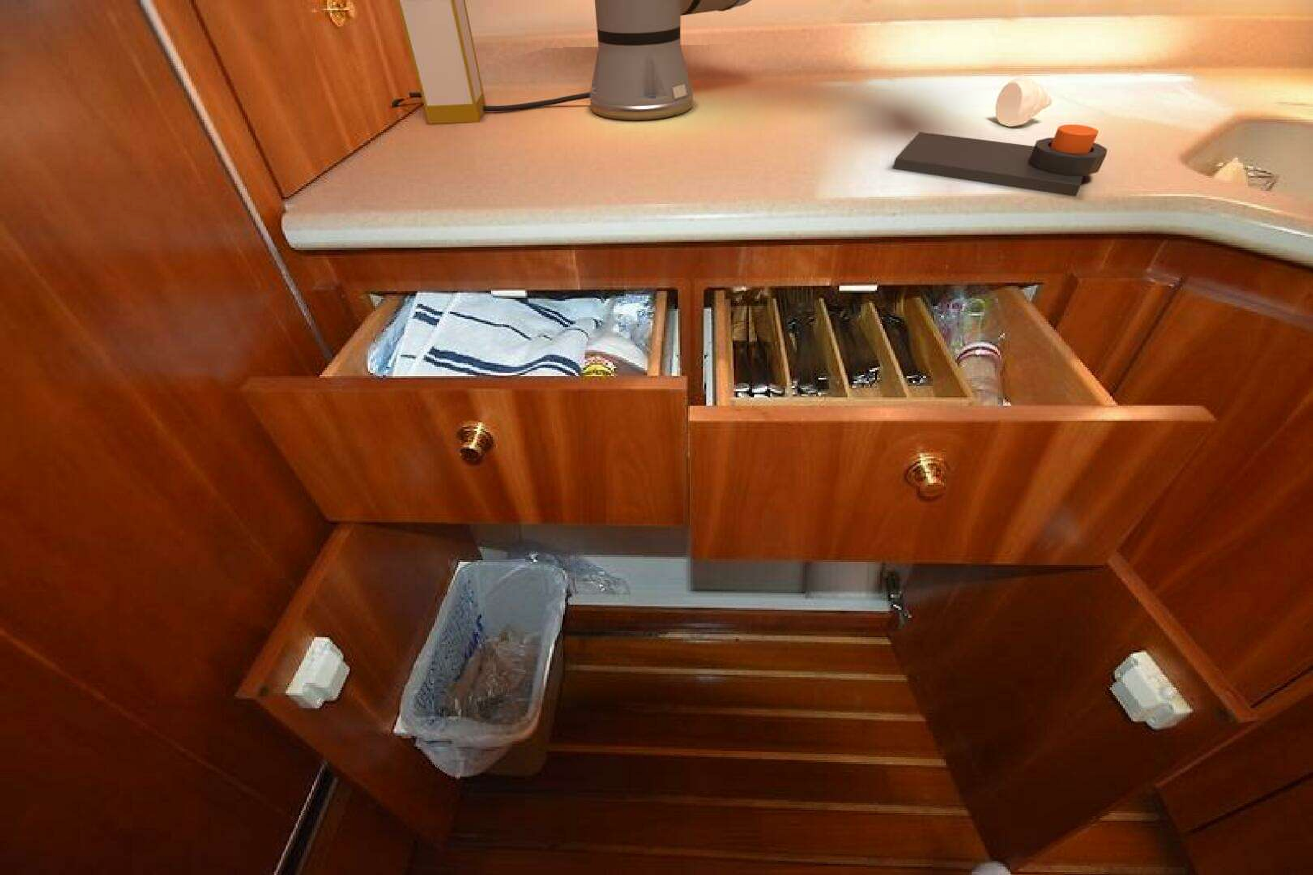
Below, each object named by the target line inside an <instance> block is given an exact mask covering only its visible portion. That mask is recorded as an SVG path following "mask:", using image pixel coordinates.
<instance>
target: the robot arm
mask: <svg viewBox="0 0 1313 875" xmlns="http://www.w3.org/2000/svg"><path fill="white" fill-rule="evenodd" d="M751 1H752V0H594V8H595V10H594V11H595V21H596V31H597V48H598V49H597V54H596V59H595V64H594V70H593V75H592V80H591V87H590V91H589V92H583V93H577V94H571V95H566V96H561V97H556V98H551V99H544V100H538V101H537V100H536V101H533V102H532V101H531V102H525V103H524V102H523V103H517V104H507V105H486V106H483V111H485V112H511V111H520V110H527V109H533V108H534V109H535V108H539V107H547V106H553V105H558V104H563V103H569V102H573V101H579V100H586V99H589V100H590V102H589V103H590V109H591V111H592V112H593V113H594V114H596V115H598V116H601V117H604V118H608V119H609V118H610V119H616V120H628V121H629V120H631V121H640V120H641V121H642V120H643V121H644V120H656V119H657V120H658V119H663V118H669V117H674V116H678V115H681V114H683V113H685V112H687V111H689V110H690V109H691V108H692V107H693V101H694V98H693V97H694V91H693V87H692V84H691V80H690V76H689V71H688V69H687V64H686V61H685V57H684V52H683V49H682V45H681V44H682V42H681V23H682V22H681V21H682V20H681V18H682V17H683V16H689V15H695V14H704V13H709V12H710V13H711V12H716V11H717V12H726V11H729V10H732V9H734V8H737V7H742V6H744V5H747V4H748V3H750V2H751ZM408 93H409V95H410V98H407V99H396V98H395V99H396V100H395V99H394V100H393V101H392V103H391V104H392V107H391V108H396V107H397V106H399V104H400V103H401V102H404V101H405V100H408V99H414V98H415V99H416V98H417V99H420V98H421V99H422V96H421V92H418V91H416V92H415V91H414V92H412V91H411V92H408Z"/></svg>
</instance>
